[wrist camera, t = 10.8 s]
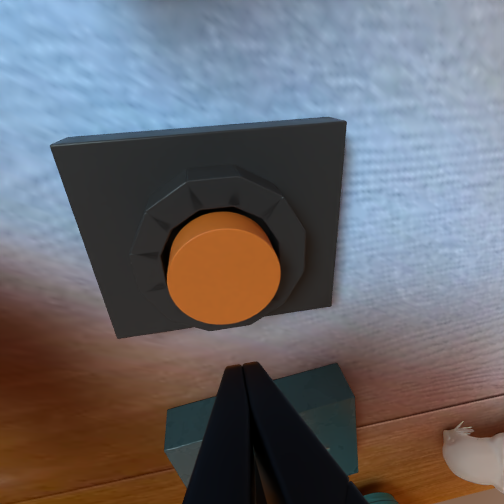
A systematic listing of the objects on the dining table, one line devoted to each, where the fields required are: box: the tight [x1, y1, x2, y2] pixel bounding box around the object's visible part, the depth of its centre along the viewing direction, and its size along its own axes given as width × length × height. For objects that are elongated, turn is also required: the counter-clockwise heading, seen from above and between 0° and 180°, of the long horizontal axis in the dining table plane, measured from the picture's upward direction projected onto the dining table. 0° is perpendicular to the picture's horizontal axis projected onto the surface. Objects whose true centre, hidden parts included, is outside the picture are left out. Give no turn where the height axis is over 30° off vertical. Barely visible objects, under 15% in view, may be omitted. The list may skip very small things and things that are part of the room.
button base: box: [50, 117, 347, 339], centre depth 15 cm, size 12×10×4 cm
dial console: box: [164, 363, 358, 488], centre depth 24 cm, size 13×10×3 cm
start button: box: [167, 212, 281, 325], centre depth 13 cm, size 4×4×2 cm
